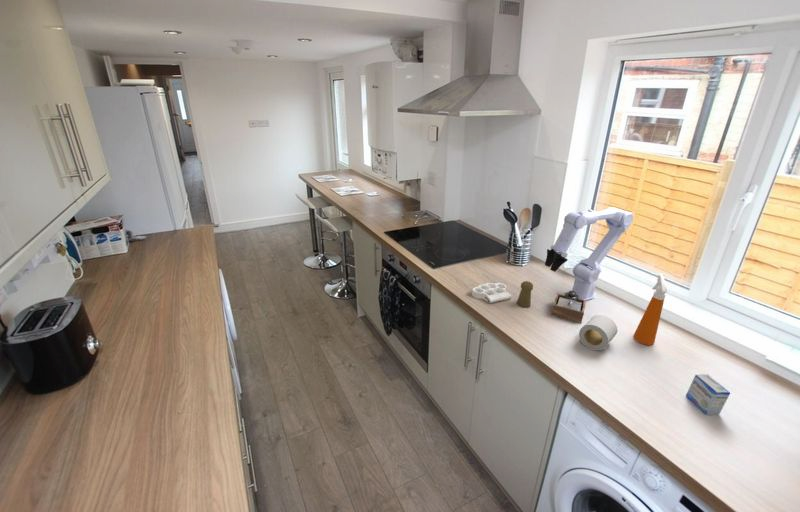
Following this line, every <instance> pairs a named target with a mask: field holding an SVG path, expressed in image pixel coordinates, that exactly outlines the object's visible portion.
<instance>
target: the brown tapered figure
mask: <svg viewBox="0 0 800 512" xmlns="http://www.w3.org/2000/svg"><path fill="white" fill-rule="evenodd" d="M533 289H534V284H533V283H532V282H531V281H528V280H527V281H522V282H521V284H520V291H519V295H518V298H517V300H516V305H517V307H520V308H524V309H528V308H530V307H531V303H532V302H531V299H532V290H533Z"/></svg>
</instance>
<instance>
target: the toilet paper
mask: <svg viewBox="0 0 800 512" xmlns="http://www.w3.org/2000/svg"><path fill="white" fill-rule="evenodd" d="M617 333H618V326H617V324H616V322H615V321H614V320H613V319H612V318H611V317H609V316H607V315H604V314H596V315H594V316H592V317H591V318H590V319H588V321H586V323H585V324H584V325H583V326H582V327H580V329H579V332H578V338H579V340H580V341H581V343H582V344H583V345H584V346H585V347H587V349H590V350H592V351H602V350H604V349H605V348H607V347H608V345H609V344H610V342H612V340H613V339H614V338H615V337H616V336H617Z"/></svg>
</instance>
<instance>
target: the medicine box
mask: <svg viewBox="0 0 800 512" xmlns="http://www.w3.org/2000/svg"><path fill="white" fill-rule="evenodd" d="M730 395H731V392H730V391H729V390H728V389H726V388H725V387H724V386H722V384H720V383H719V382H717V380H715V379H714V378H713V377H712V376H710V375H709V374H707V373H705V374H704V373H702V374H701V373H700V374H695V375H694V377H693V379H692V381H691V383H690V386H689V388H688V390H687V391H686V394H685V396H686V398H687V399H688V400H690V401H691V402H692V403H693V404H694V405H695V406H697V408H699V409H700V410H701V411H702V412H703V413H704V414H705V415H706V416H709V415H711V416H712V415H713V416H714V415H720V414H721V413H722V410H723V409H724V406H725V405H726V403H727V400H728V399H729V397H730Z"/></svg>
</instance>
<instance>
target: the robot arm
mask: <svg viewBox="0 0 800 512" xmlns="http://www.w3.org/2000/svg"><path fill="white" fill-rule="evenodd" d="M601 220H602V221H603V220H605V222H606V226H607V227H608V231H607V233H606V234H605V235H604V236H603V237H602V239H601V241H600V242H599V243H598V245H597V246H596V247H595V248H594V250H593V251H592V253H591V254H590V255H589V256H588V258H584V259H581V260H579V262H578V263H577V264H576V265H574V266H573V269H572V274H573V275H574V276H573V278H574V281H573V286H572V290H571V291H574V292H576V294H577V295H578V296H579V298H578V299H582V300H586V301H589V300H592V299H595V296H594V294H595V289H596V287H597V285H596V281H597V280H598V278H599V276H600V274H601V272H602V270H601V267H600V266H601V265H600V264H601V263H602V262H603V260H604V259H605V258H606V256H607V255H608V253H609V252H610V251H611V250H612V248H614V246H615V244H616V243H617V242H618V241H619V239H620V238H621V237H622V235H623V234H624V233H625V232H627V230H628V229H629V228H630V226H631V225H632V223H633V222H634V214H633V212H631V211H626V210H623V209H620V208H617V207H614V206H611V207H607V208H606V209H602V210H598V211H595V210H593V209H589V208H588V210H586V211H585V210H584V211H582V210H581V211H578V212H574V211H571V212H568V214H566V215H565V216H564V219H563V221H564V222H563V225H562V229H561V231H560V232H559V235H558V237H557V239H556V240H555V243H554V245H553V244H552V245H550V246H549V247H550V249H549V248H548V249H547V250H546V259H545V263H544V266H546V267H548V268H550V271H552V272H554V273H555V272H557V270H558V269H559V268H560V267H561V266H562V265H564V264H565V263H566V262H567V261H569V260H568V258H567V257H568V255H569V253H568V250H569V249H570V247H571V244H572V243H573V241H574V239H575V237H576V235H577V233H578V231H579V230H581V229H583V228H584V227H585V226H588V225H593V224H595V223H597V222H598V221H601Z"/></svg>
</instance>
